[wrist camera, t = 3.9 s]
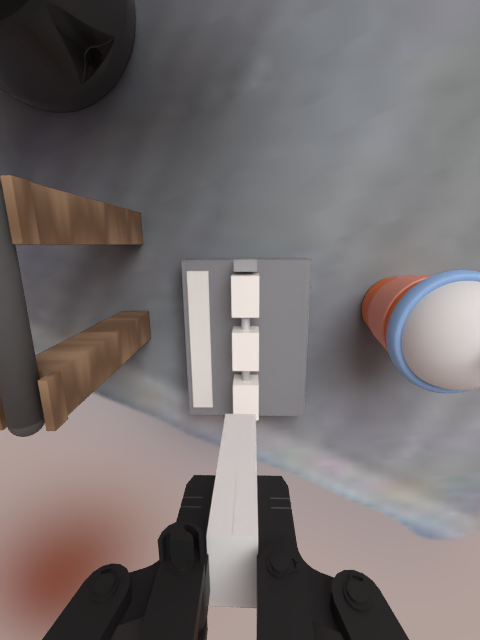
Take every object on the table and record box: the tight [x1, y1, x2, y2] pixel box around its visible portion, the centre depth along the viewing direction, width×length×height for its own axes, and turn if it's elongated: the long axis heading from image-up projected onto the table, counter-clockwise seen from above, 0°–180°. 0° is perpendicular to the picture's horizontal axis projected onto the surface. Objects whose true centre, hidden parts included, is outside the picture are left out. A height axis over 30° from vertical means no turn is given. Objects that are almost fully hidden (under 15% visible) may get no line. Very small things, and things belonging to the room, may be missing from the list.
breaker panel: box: [181, 258, 311, 416], centre depth 31 cm, size 16×12×5 cm
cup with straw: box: [362, 270, 480, 393], centre depth 23 cm, size 9×9×18 cm
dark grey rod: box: [0, 180, 45, 437], centre depth 16 cm, size 14×2×2 cm, turn 1°
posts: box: [0, 175, 151, 431], centre depth 24 cm, size 13×4×17 cm, turn 1°
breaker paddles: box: [231, 273, 259, 420], centre depth 29 cm, size 14×2×2 cm, turn 1°
